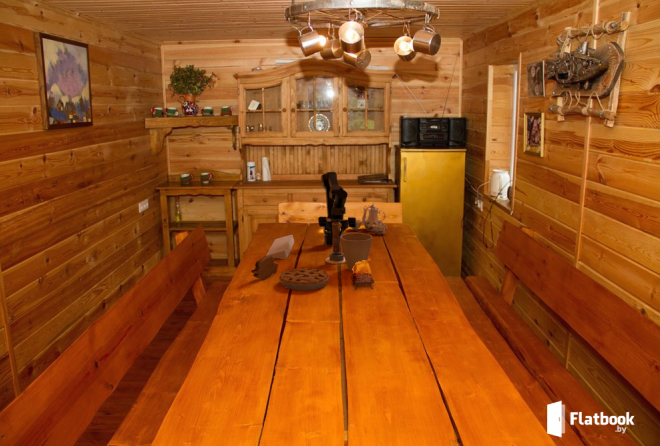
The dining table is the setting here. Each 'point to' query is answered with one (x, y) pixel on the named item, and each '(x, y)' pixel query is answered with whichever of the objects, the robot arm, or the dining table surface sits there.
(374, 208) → the chinaware
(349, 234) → the plant pot
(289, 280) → the pie
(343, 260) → the cup bracket
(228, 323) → the dining table surface
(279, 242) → the decorative molding
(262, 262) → the wooden carving
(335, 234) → the brown tapered rod
